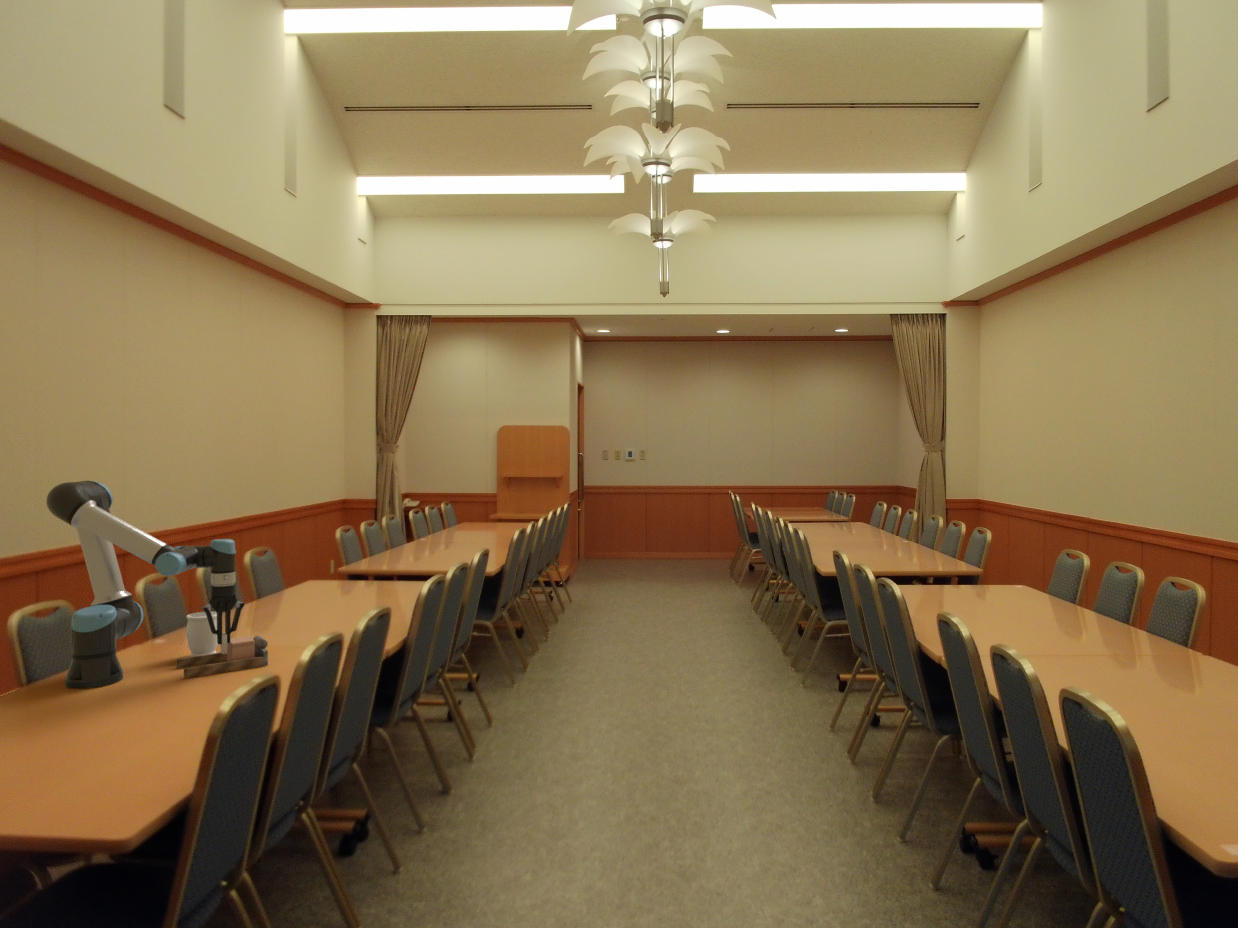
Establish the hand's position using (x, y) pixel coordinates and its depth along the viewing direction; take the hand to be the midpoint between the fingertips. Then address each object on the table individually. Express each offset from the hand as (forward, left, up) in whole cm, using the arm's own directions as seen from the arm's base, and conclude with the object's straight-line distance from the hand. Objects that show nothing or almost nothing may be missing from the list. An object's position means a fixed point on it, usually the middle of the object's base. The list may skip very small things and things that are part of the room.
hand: (223, 652), depth 255 cm
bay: (0, 0, -5) cm, 5 cm away
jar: (-3, +19, -5) cm, 20 cm away
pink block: (+5, 0, -5) cm, 7 cm away
